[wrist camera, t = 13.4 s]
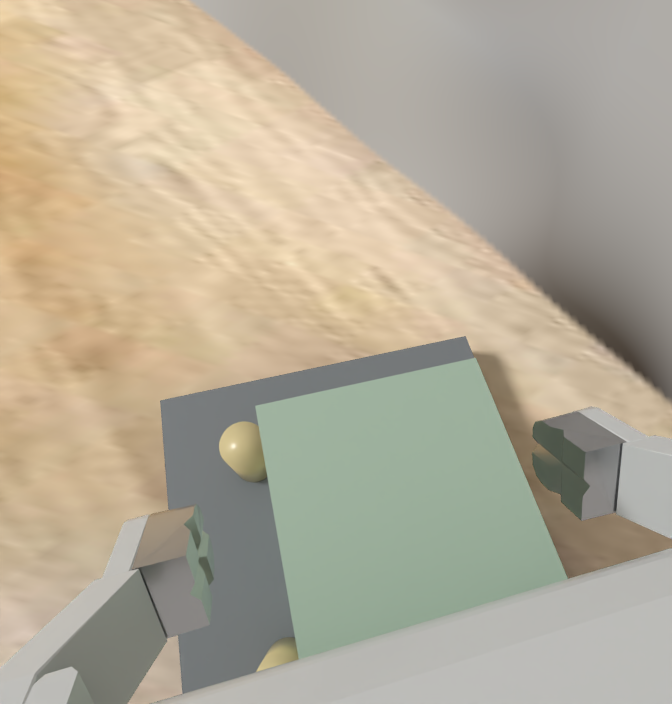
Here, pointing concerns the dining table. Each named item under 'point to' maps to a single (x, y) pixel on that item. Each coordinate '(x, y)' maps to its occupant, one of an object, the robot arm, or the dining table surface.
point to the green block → (399, 505)
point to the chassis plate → (251, 507)
